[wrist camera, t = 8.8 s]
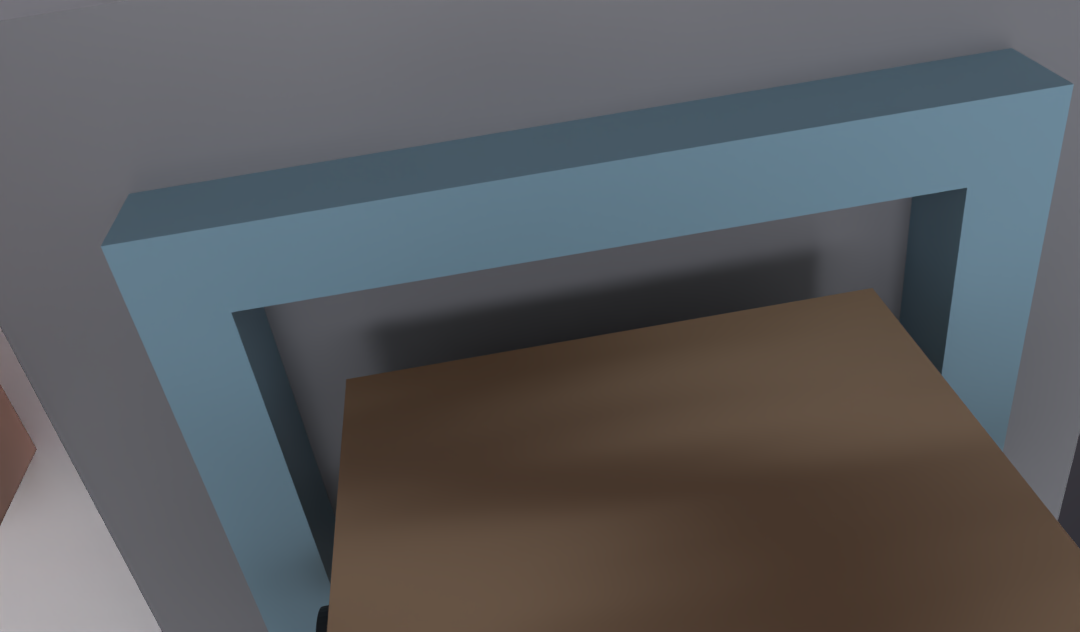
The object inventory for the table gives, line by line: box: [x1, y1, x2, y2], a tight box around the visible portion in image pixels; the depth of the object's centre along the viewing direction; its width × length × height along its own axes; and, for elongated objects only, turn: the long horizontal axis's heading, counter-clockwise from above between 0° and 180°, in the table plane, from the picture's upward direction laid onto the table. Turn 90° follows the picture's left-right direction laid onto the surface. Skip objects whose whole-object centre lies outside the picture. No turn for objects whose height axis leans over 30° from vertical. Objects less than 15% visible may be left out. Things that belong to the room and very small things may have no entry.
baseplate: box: [0, 0, 1080, 632], centre depth 13 cm, size 14×14×2 cm
